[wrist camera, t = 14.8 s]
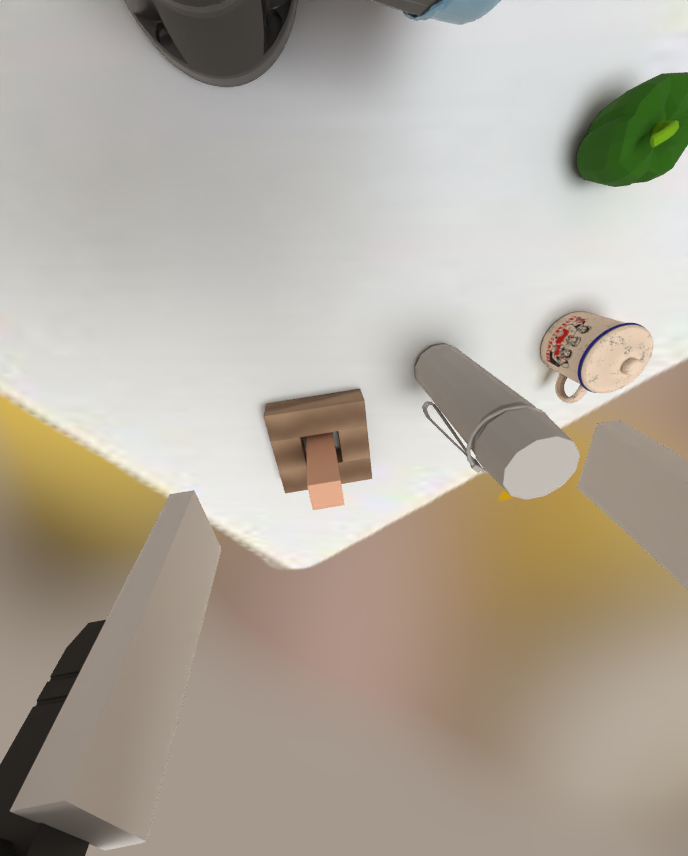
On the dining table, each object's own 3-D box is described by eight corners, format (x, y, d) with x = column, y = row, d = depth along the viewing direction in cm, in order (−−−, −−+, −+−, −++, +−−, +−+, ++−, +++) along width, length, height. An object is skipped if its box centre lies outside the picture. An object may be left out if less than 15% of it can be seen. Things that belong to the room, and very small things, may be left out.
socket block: (266, 403, 49) (263, 416, 46) (360, 388, 49) (364, 400, 46) (286, 477, 56) (285, 493, 53) (367, 463, 57) (372, 478, 53)
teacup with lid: (559, 302, 46) (631, 321, 36) (611, 317, 48) (692, 339, 38) (517, 381, 52) (568, 416, 42) (564, 392, 54) (624, 428, 44)
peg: (305, 427, 52) (307, 485, 40) (331, 423, 52) (340, 480, 40) (310, 448, 54) (312, 510, 42) (334, 444, 54) (344, 504, 42)
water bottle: (434, 330, 46) (550, 413, 25) (472, 360, 49) (604, 458, 28) (392, 381, 49) (463, 495, 28) (430, 407, 52) (519, 528, 31)
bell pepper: (646, 90, 36) (756, 44, 27) (625, 183, 40) (714, 170, 31) (570, 104, 35) (656, 63, 27) (557, 197, 40) (628, 186, 31)
